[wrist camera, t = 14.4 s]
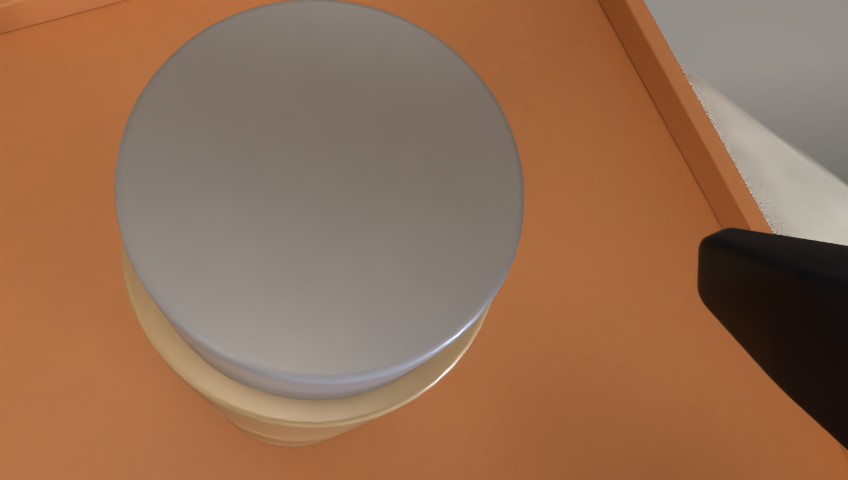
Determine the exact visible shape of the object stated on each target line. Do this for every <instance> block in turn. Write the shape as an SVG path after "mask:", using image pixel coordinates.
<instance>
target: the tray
mask: <svg viewBox="0 0 848 480" xmlns="http://www.w3.org/2000/svg"><path fill="white" fill-rule="evenodd" d="M280 1H290V0H0V480H848V450H847V449H845V448H844V447H843V446H842V445H841V444H840V443H839V442H838V441H837V440H836V439H835V438H833V437H832V436H831V435H830V434H829V433H828V432H827V431H826V430H825V429H824V428H822V427H821V426H820V425H819V424H818V423H817V422H816V421H815V420H814V419H813V418H812V417H810V416H809V415H808V414H807V413H806V412H805V411H804V410H803V409H802V408H801V407H799V406H798V405H797V404H796V403H795V402H794V401H793V400H792V399H791V398H790V397H789V396H788V395H787V394H786V393H785V392H783V391H782V390H781V389H780V388H779V387H778V386H777V385H776V384H775V383H774V381H773V380H772V379H771V378H770V377H769V376H768V375H767V374H766V373H765V372H764V371H763V370H762V369H761V368H760V366H759V365H758V364H757V363H756V362H755V361H754V360H753V359H752V357H751V356H750V355H749V354H748V353H747V352H746V351H745V350H744V349H743V347H742V346H741V345H740V344H739V343H738V342H737V341H736V340H735V339H734V337H733V336H732V335H731V334H730V333H729V332H728V331H727V330H726V329H725V327H724V326H723V325H722V324H721V323H720V322H719V321H718V320H717V319H716V317H715V316H714V315H713V314H712V313H711V312H710V311H709V310H708V309H707V307H706V306H705V305H704V304H703V302H702V300H701V299H700V296H699V294H698V290H697V273H698V248H699V244H700V242H701V240H702V239H703V238H704V237H706V236H708V235H710V234H712V233H715V232H717V231H719V230H721V229H724V228H728V227H732V228H739V229H746V230H752V231H758V232H764V233H770V234H773V233H772V231H771V229H770V227H769V225H768V224H767V222H766V220H765V218H764V216H763V215H762V213H761V211H760V209H759V207H758V206H757V204H756V202H755V200H754V198H753V197H752V195H751V193H750V191H749V189H748V188H747V186H746V184H745V182H744V180H743V179H742V177H741V175H740V173H739V171H738V170H737V168H736V166H735V164H734V163H733V161H732V159H731V157H730V155H729V154H728V152H727V150H726V148H725V146H724V145H723V143H722V141H721V139H720V137H719V136H718V134H717V132H716V130H715V128H714V127H713V125H712V123H711V121H710V119H709V118H708V116H707V114H706V112H705V110H704V109H703V107H702V105H701V103H700V101H699V100H698V98H697V96H696V94H695V92H694V91H693V89H692V87H691V85H690V83H689V82H688V80H687V78H686V76H685V74H684V73H683V71H682V69H681V67H680V66H679V64H678V62H677V60H676V58H675V57H674V55H673V53H672V51H671V50H670V48H669V46H668V44H667V42H666V40H665V39H664V37H663V35H662V33H661V31H660V30H659V28H658V26H657V24H656V23H655V21H654V19H653V17H652V15H651V14H650V12H649V10H648V8H647V7H646V4H645V3H644V1H643V0H337V1H345V2H352V3H357V4H361V5H365V6H369V7H373V8H377V9H380V10H383V11H386V12H388V13H391V14H394V15H396V16H399V17H402V18H404V19H406V20H408V21H410V22H412V23H414V24H416V25H418V26H420V27H421V28H423V29H425V30H427V31H428V32H430V33H431V34H433V35H434V36H436V37H437V38H439V39H440V40H442V41H443V42H445V43H446V44H447V45H448V46H449V47H451V48H452V49H453V50H454V51H455V52H456V53H458V54H459V55H460V56H461V57H462V58H463V59H464V60H465V61H466V62H467V63H468V64H469V65H470V66H471V67H472V68H473V69H474V70H475V71H476V72H477V73H478V74H479V76H480V77H481V78H482V80H483V81H484V82H485V84H486V85H487V86H488V88H489V89H490V90H491V92H492V93H493V95H494V96H495V98H496V100H497V102H498V103H499V105H500V107H501V109H502V110H503V112H504V114H505V116H506V118H507V121H508V123H509V126H510V128H511V130H512V133H513V135H514V138H515V142H516V145H517V149H518V152H519V156H520V160H521V165H522V172H523V179H524V217H523V225H522V233H521V237H520V241H519V244H518V248H517V252H516V255H515V258H514V261H513V263H512V265H511V268H510V270H509V272H508V275H507V277H506V279H505V281H504V283H503V285H502V286H501V288H500V290H499V291H498V293H497V295H496V296H495V298H494V300H493V301H492V303H491V305H490V308H489V310H488V313H487V315H486V317H485V320H484V322H483V324H482V327H481V329H480V330H479V332H478V334H477V335H476V337H475V339H474V340H473V342H472V344H471V345H470V347H469V349H468V350H467V351H466V352H465V354H464V355H463V356H462V357H461V359H460V360H459V361H458V362H457V364H456V365H455V366H454V367H453V368H452V369H451V370H450V371H449V372H448V373H447V374H446V375H445V376H444V377H443V378H442V379H441V380H440V381H439V382H438V383H437V384H435V385H434V386H433V387H431V388H430V389H429V390H427V391H426V392H424V393H423V394H422V395H420V396H419V397H417V398H416V399H414V400H412V401H411V402H409V403H407V404H405V405H403V406H401V407H399V408H398V409H396V410H394V411H392V412H389V413H387V414H385V415H383V416H380V417H378V418H376V419H374V420H371V421H369V422H367V423H364V424H362V425H360V426H358V427H355V428H353V429H351V430H349V431H346V432H344V433H342V434H340V435H337V436H335V437H333V438H330V439H328V440H325V441H323V442H320V443H316V444H312V445H308V446H298V447H285V446H277V445H271V444H268V443H265V442H261V441H258V440H256V439H254V438H252V437H250V436H248V435H246V434H245V433H243V432H242V431H240V430H239V429H237V428H236V427H235V426H234V425H233V424H232V423H230V422H229V421H228V420H227V419H226V418H225V417H224V416H223V415H221V414H220V413H219V412H218V411H217V410H216V409H215V408H214V407H213V406H212V405H210V404H209V403H208V402H207V401H206V400H205V399H204V398H203V397H202V396H201V395H199V394H198V393H197V392H196V391H195V390H194V389H193V388H192V387H191V386H190V385H188V384H187V383H186V382H185V381H184V380H183V379H182V378H181V377H180V376H178V375H177V374H176V373H175V372H174V371H173V370H172V369H171V368H170V366H169V365H168V364H167V363H166V362H165V361H164V359H163V358H162V357H161V356H160V355H159V354H158V353H157V351H156V350H155V349H154V347H153V345H152V344H151V342H150V341H149V339H148V338H147V336H146V334H145V333H144V331H143V330H142V328H141V326H140V324H139V321H138V319H137V317H136V315H135V313H134V310H133V308H132V306H131V303H130V299H129V296H128V293H127V289H126V286H125V282H124V276H123V269H122V262H121V233H120V230H119V226H118V221H117V213H116V206H115V199H114V185H115V166H116V160H117V153H118V147H119V143H120V140H121V137H122V134H123V130H124V127H125V124H126V121H127V119H128V117H129V115H130V113H131V110H132V108H133V106H134V104H135V102H136V100H137V98H138V96H139V95H140V93H141V92H142V90H143V89H144V87H145V86H146V84H147V83H148V81H149V80H150V78H151V77H152V76H153V74H154V73H155V72H156V71H157V70H158V69H159V68H160V67H161V65H162V64H163V63H164V62H165V61H166V60H167V59H168V57H169V56H170V55H172V54H173V53H174V52H175V51H176V50H177V49H179V48H180V47H181V46H182V45H183V44H184V43H185V42H187V41H188V40H189V39H191V38H192V37H194V36H195V35H197V34H198V33H200V32H201V31H203V30H204V29H206V28H207V27H209V26H211V25H213V24H215V23H217V22H219V21H221V20H223V19H225V18H227V17H229V16H231V15H233V14H236V13H239V12H242V11H245V10H248V9H251V8H254V7H257V6H262V5H266V4H271V3H275V2H280Z"/></svg>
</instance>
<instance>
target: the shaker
mask: <svg viewBox="0 0 848 480" xmlns="http://www.w3.org/2000/svg"><path fill="white" fill-rule="evenodd" d="M114 199H115V206H116V213H117V221H118V226H119V230H120V233H121V262H122V269H123V276H124V282H125V286H126V289H127V293H128V296H129V299H130V303H131V306H132V308H133V310H134V313H135V315H136V317H137V319H138V321H139V324H140V326H141V328H142V330H143V331H144V333H145V334H146V336H147V338H148V339H149V341H150V342H151V344H152V345H153V347H154V349H155V350H156V351H157V353H158V354H159V355H160V356H161V357H162V358H163V359H164V361H165V362H166V363H167V364H168V365H169V366H170V368H171V369H172V370H173V371H174V372H175V373H176V374H177V375H178V376H180V377H181V378H182V379H183V380H184V381H185V382H186V383H187V384H188V385H190V386H191V387H192V388H193V389H194V390H195V391H196V392H197V393H198V394H199V395H201V396H202V397H203V398H204V399H205V400H206V401H207V402H208V403H209V404H210V405H212V406H213V407H214V408H215V409H216V410H217V411H218V412H219V413H220V414H221V415H223V416H224V417H225V418H226V419H227V420H228V421H229V422H230V423H232V424H233V425H234V426H235V427H236V428H237V429H239V430H240V431H242V432H243V433H245V434H246V435H248V436H250V437H252V438H254V439H256V440H258V441H261V442H265V443H268V444H271V445H277V446H285V447H298V446H308V445H312V444H316V443H320V442H323V441H325V440H328V439H330V438H333V437H335V436H337V435H340V434H342V433H344V432H346V431H349V430H351V429H353V428H355V427H358V426H360V425H362V424H364V423H367V422H369V421H371V420H374V419H376V418H378V417H380V416H383V415H385V414H387V413H389V412H392V411H394V410H396V409H398V408H399V407H401V406H403V405H405V404H407V403H409V402H411V401H412V400H414V399H416V398H417V397H419V396H420V395H422V394H423V393H424V392H426V391H427V390H429V389H430V388H431V387H433V386H434V385H435V384H437V383H438V382H439V381H440V380H441V379H442V378H443V377H444V376H445V375H446V374H447V373H448V372H449V371H450V370H451V369H452V368H453V367H454V366H455V365H456V364H457V362H458V361H459V360H460V359H461V357H462V356H463V355H464V354H465V352H466V351H467V350H468V349H469V347H470V345H471V344H472V342H473V340H474V339H475V337H476V335H477V334H478V332H479V330H480V329H481V327H482V324H483V322H484V320H485V317H486V315H487V313H488V310H489V308H490V305H491V303H492V301H493V300H494V298H495V296H496V295H497V293H498V291H499V290H500V288H501V286H502V285H503V283H504V281H505V279H506V277H507V275H508V272H509V270H510V268H511V265H512V263H513V261H514V258H515V255H516V252H517V248H518V244H519V241H520V237H521V233H522V225H523V217H524V179H523V172H522V165H521V160H520V156H519V152H518V149H517V145H516V142H515V138H514V135H513V133H512V130H511V128H510V126H509V123H508V121H507V118H506V116H505V114H504V112H503V110H502V109H501V107H500V105H499V103H498V102H497V100H496V98H495V96H494V95H493V93H492V92H491V90H490V89H489V88H488V86H487V85H486V84H485V82H484V81H483V80H482V78H481V77H480V76H479V74H478V73H477V72H476V71H475V70H474V69H473V68H472V67H471V66H470V65H469V64H468V63H467V62H466V61H465V60H464V59H463V58H462V57H461V56H460V55H459V54H458V53H456V52H455V51H454V50H453V49H452V48H451V47H449V46H448V45H447V44H446V43H445V42H443V41H442V40H440V39H439V38H437V37H436V36H434V35H433V34H431V33H430V32H428V31H427V30H425V29H423V28H421V27H420V26H418V25H416V24H414V23H412V22H410V21H408V20H406V19H404V18H402V17H399V16H396V15H394V14H391V13H388V12H386V11H383V10H380V9H377V8H373V7H369V6H365V5H361V4H357V3H352V2H345V1H337V0H290V1H280V2H275V3H271V4H266V5H262V6H257V7H254V8H251V9H248V10H245V11H242V12H239V13H236V14H233V15H231V16H229V17H227V18H225V19H223V20H221V21H219V22H217V23H215V24H213V25H211V26H209V27H207V28H206V29H204V30H203V31H201V32H200V33H198V34H197V35H195V36H194V37H192V38H191V39H189V40H188V41H187V42H185V43H184V44H183V45H182V46H181V47H180V48H179V49H177V50H176V51H175V52H174V53H173V54H172V55H170V56H169V57H168V59H167V60H166V61H165V62H164V63H163V64H162V65H161V67H160V68H159V69H158V70H157V71H156V72H155V73H154V74H153V76H152V77H151V78H150V80H149V81H148V83H147V84H146V86H145V87H144V89H143V90H142V92H141V93H140V95H139V96H138V98H137V100H136V102H135V104H134V106H133V108H132V110H131V113H130V115H129V117H128V119H127V121H126V124H125V127H124V130H123V134H122V137H121V140H120V143H119V147H118V153H117V160H116V166H115V185H114Z"/></svg>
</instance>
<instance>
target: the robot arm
mask: <svg viewBox="0 0 848 480" xmlns="http://www.w3.org/2000/svg"><path fill="white" fill-rule="evenodd" d="M697 290H698V294H699V296H700V299H701V300H702V302H703V304H704V305H705V306H706V307H707V309H708V310H709V311H710V312H711V313H712V314H713V315H714V316H715V317H716V319H717V320H718V321H719V322H720V323H721V324H722V325H723V326H724V327H725V329H726V330H727V331H728V332H729V333H730V334H731V335H732V336H733V337H734V339H735V340H736V341H737V342H738V343H739V344H740V345H741V346H742V347H743V349H744V350H745V351H746V352H747V353H748V354H749V355H750V356H751V357H752V359H753V360H754V361H755V362H756V363H757V364H758V365H759V366H760V368H761V369H762V370H763V371H764V372H765V373H766V374H767V375H768V376H769V377H770V378H771V379H772V380H773V381H774V383H775V384H776V385H777V386H778V387H779V388H780V389H781V390H782V391H783V392H785V393H786V394H787V395H788V396H789V397H790V398H791V399H792V400H793V401H794V402H795V403H796V404H797V405H798V406H799V407H801V408H802V409H803V410H804V411H805V412H806V413H807V414H808V415H809V416H810V417H812V418H813V419H814V420H815V421H816V422H817V423H818V424H819V425H820V426H821V427H822V428H824V429H825V430H826V431H827V432H828V433H829V434H830V435H831V436H832V437H833V438H835V439H836V440H837V441H838V442H839V443H840V444H841V445H842V446H843V447H844V448H845V449H847V450H848V246H845V245H839V244H833V243H826V242H820V241H814V240H808V239H801V238H795V237H789V236H783V235H777V234H770V233H764V232H758V231H752V230H746V229H739V228H732V227H728V228H724V229H721V230H719V231H717V232H715V233H712V234H710V235H708V236H706V237H704V238H703V239H702V240H701V242H700V244H699V248H698V273H697Z"/></svg>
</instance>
